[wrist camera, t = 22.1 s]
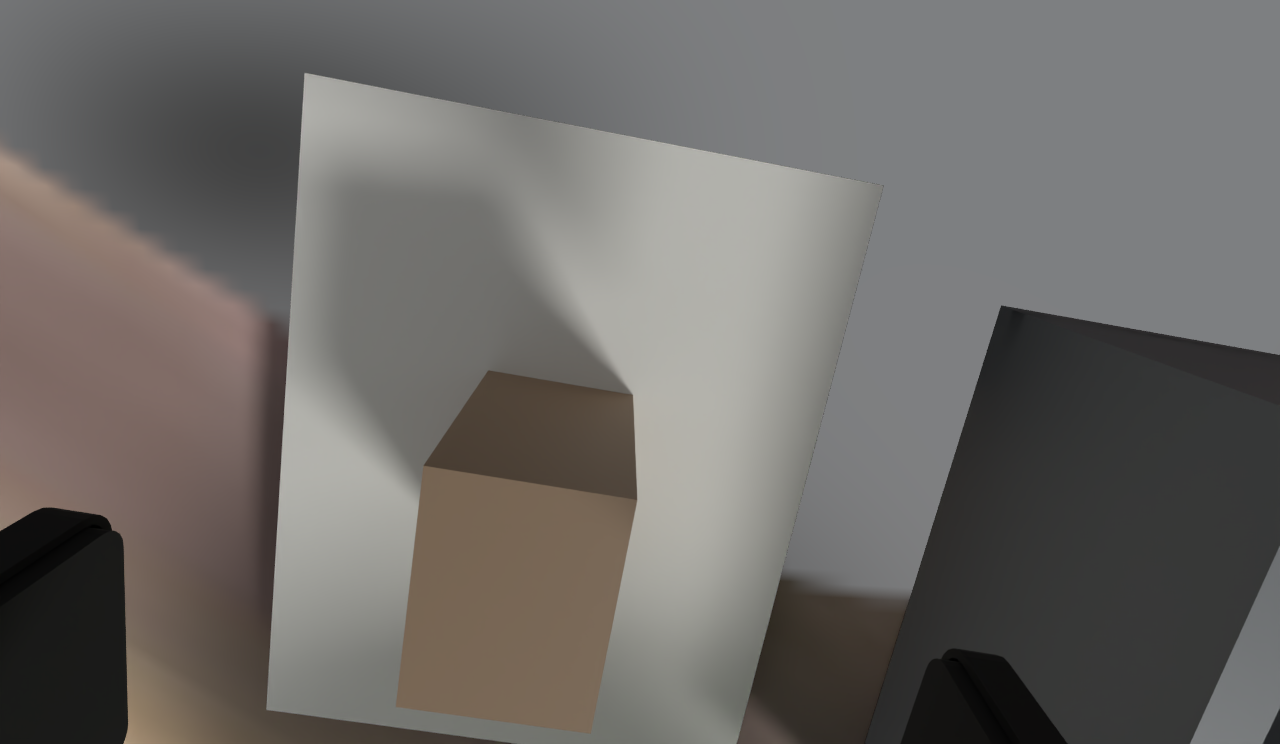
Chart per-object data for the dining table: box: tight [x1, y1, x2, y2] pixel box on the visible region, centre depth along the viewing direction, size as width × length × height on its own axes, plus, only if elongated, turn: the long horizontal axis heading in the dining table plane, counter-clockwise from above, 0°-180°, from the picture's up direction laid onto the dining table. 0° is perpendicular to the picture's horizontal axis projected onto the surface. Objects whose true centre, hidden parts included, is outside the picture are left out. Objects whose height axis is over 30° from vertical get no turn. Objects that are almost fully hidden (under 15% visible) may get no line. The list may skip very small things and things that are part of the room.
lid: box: [266, 73, 883, 744], centre depth 14 cm, size 14×11×7 cm
